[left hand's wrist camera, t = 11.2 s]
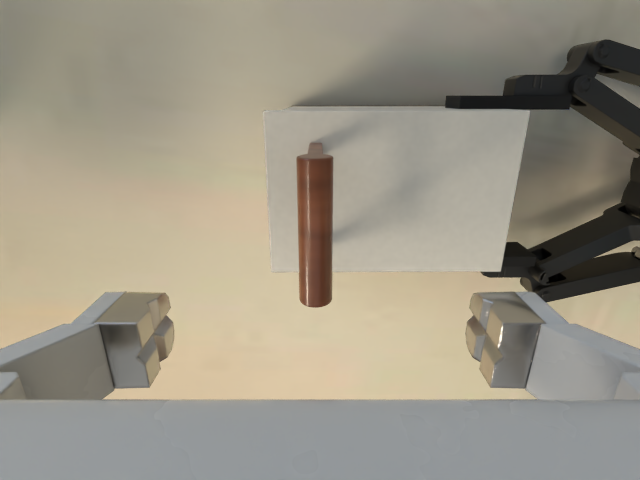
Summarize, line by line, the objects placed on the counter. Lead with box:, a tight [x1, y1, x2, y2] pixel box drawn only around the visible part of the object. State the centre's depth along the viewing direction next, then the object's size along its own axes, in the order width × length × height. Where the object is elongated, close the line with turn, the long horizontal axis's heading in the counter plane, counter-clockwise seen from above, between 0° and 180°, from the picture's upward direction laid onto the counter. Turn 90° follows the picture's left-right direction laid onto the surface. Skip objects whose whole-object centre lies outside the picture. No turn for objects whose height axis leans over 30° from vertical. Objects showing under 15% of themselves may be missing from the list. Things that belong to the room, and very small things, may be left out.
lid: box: [263, 110, 530, 307], centre depth 19 cm, size 14×10×8 cm, turn 90°
